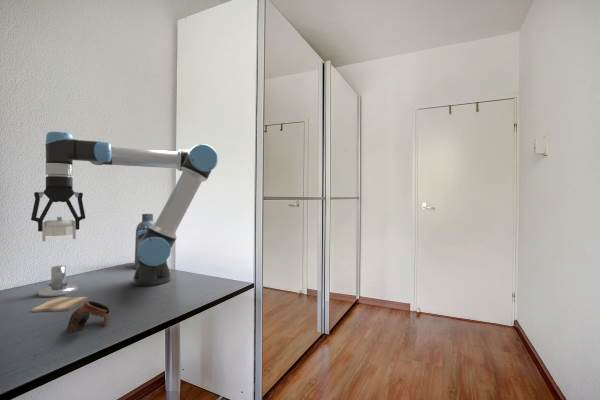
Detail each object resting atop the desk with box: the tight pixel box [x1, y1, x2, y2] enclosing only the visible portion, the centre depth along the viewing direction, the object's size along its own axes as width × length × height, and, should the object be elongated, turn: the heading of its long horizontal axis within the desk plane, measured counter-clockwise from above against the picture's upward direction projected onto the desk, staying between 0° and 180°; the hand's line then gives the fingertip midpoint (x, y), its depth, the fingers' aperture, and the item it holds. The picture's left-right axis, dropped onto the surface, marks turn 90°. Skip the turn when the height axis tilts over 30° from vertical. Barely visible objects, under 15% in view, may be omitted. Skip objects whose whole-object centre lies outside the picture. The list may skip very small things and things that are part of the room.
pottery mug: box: [66, 300, 111, 334], centre depth 87 cm, size 12×10×8 cm
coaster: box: [31, 296, 88, 313], centre depth 105 cm, size 11×11×1 cm
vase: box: [134, 213, 156, 269], centre depth 160 cm, size 12×12×28 cm
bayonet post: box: [38, 264, 79, 298], centre depth 118 cm, size 12×12×10 cm
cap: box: [44, 216, 74, 237], centre depth 108 cm, size 8×8×6 cm
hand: (59, 239), depth 108 cm, fingers closed on cap, 8 cm apart
